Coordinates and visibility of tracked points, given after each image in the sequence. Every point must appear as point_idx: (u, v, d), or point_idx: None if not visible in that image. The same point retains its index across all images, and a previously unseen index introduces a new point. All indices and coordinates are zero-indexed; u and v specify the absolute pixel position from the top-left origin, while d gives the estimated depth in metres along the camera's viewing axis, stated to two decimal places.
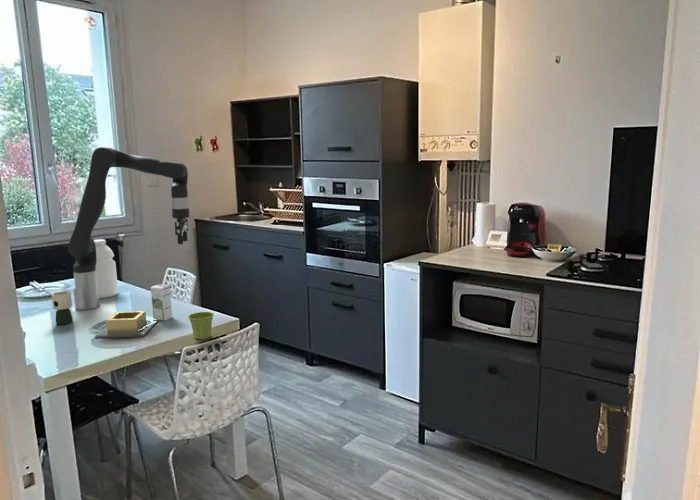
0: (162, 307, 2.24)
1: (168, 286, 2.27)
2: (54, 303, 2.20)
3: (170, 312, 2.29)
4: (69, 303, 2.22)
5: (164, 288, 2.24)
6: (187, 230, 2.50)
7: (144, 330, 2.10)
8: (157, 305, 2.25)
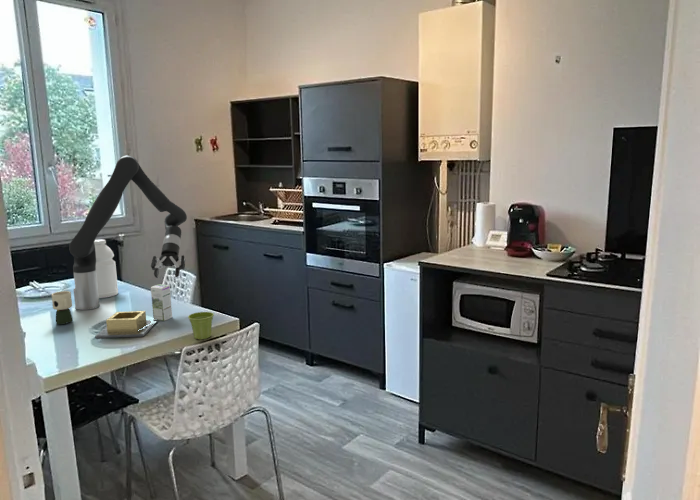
0: (162, 307, 2.24)
1: (168, 286, 2.27)
2: (54, 303, 2.20)
3: (170, 312, 2.29)
4: (69, 303, 2.22)
5: (164, 288, 2.24)
6: None
7: (144, 330, 2.10)
8: (157, 305, 2.25)
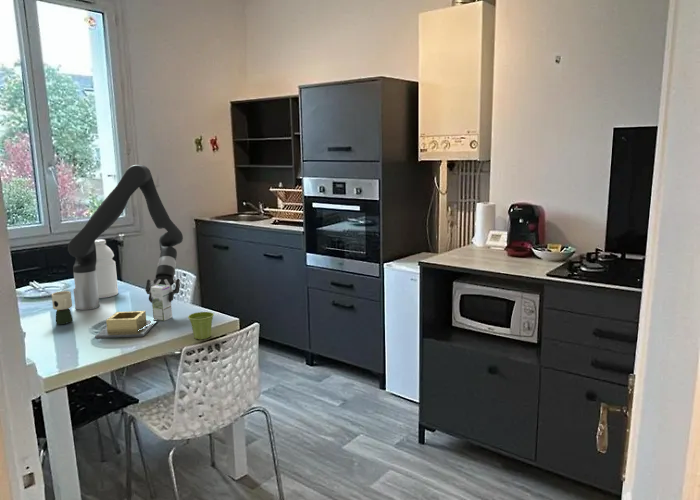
0: (162, 307, 2.24)
1: (168, 286, 2.27)
2: (54, 303, 2.20)
3: (170, 312, 2.29)
4: (69, 303, 2.22)
5: (164, 288, 2.24)
6: None
7: (144, 330, 2.10)
8: (157, 305, 2.25)
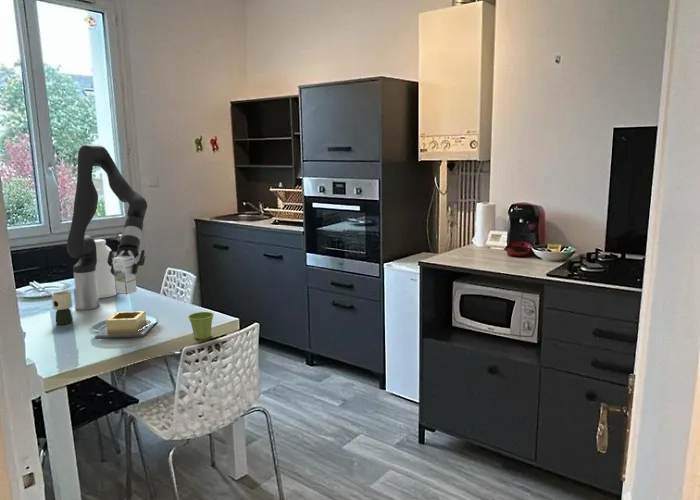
0: (125, 280, 2.08)
1: (132, 257, 2.10)
2: (54, 303, 2.20)
3: (134, 286, 2.12)
4: (69, 303, 2.22)
5: (127, 259, 2.08)
6: None
7: (144, 330, 2.10)
8: (119, 277, 2.08)
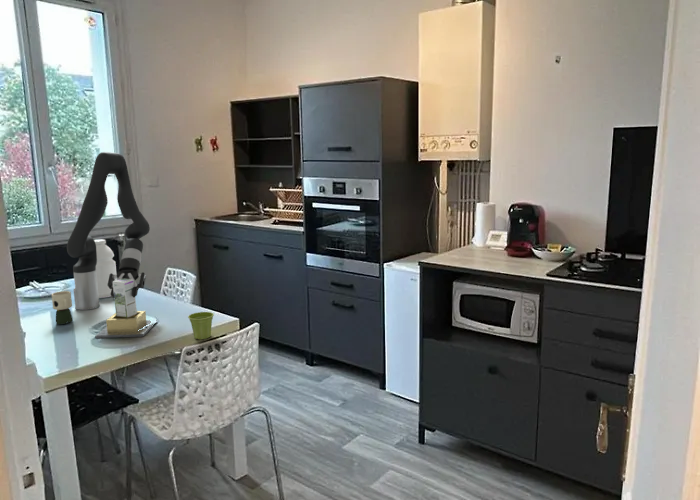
0: (125, 303, 2.09)
1: (131, 280, 2.11)
2: (54, 303, 2.20)
3: (134, 308, 2.13)
4: (69, 303, 2.22)
5: (127, 282, 2.09)
6: None
7: (144, 330, 2.10)
8: (119, 300, 2.09)
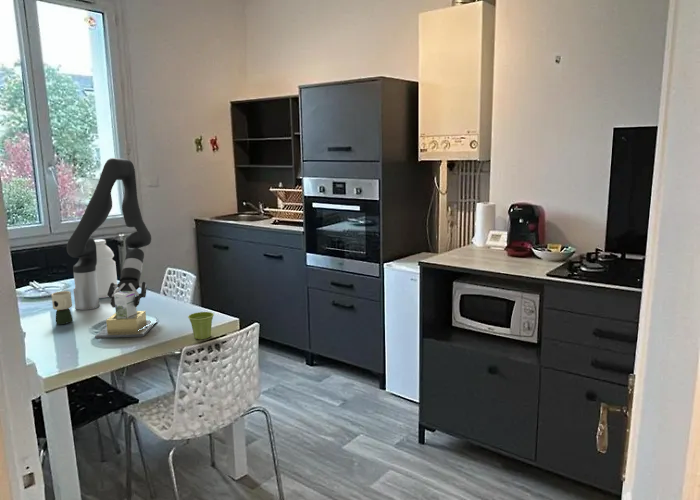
0: (126, 315, 2.10)
1: (133, 292, 2.12)
2: (54, 303, 2.20)
3: None
4: (69, 303, 2.22)
5: (128, 295, 2.10)
6: (112, 297, 2.14)
7: (144, 330, 2.10)
8: (120, 313, 2.10)
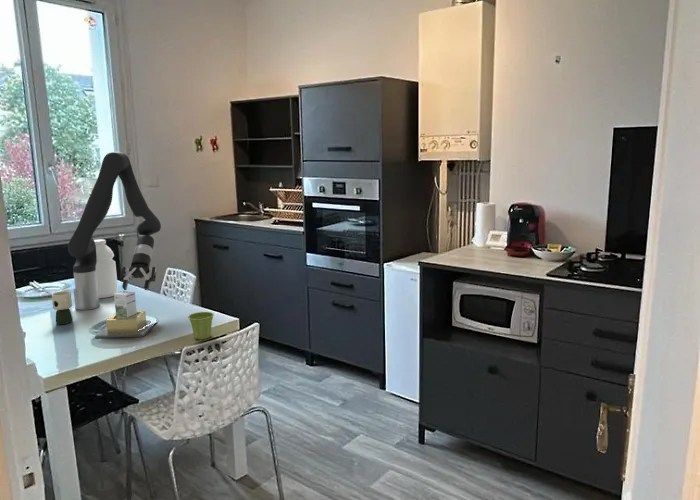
0: (126, 315, 2.10)
1: (133, 292, 2.12)
2: (54, 303, 2.20)
3: None
4: (69, 303, 2.22)
5: (128, 295, 2.10)
6: None
7: (144, 330, 2.10)
8: (120, 313, 2.10)
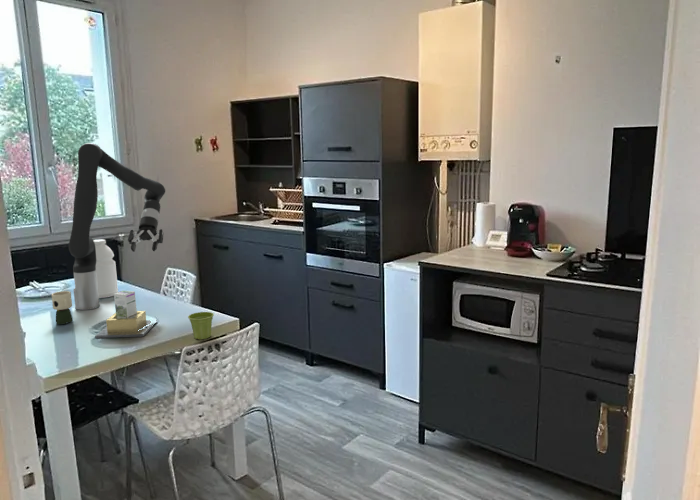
0: (126, 315, 2.10)
1: (133, 292, 2.12)
2: (54, 303, 2.20)
3: None
4: (69, 303, 2.22)
5: (128, 295, 2.10)
6: None
7: (144, 330, 2.10)
8: (120, 313, 2.10)
